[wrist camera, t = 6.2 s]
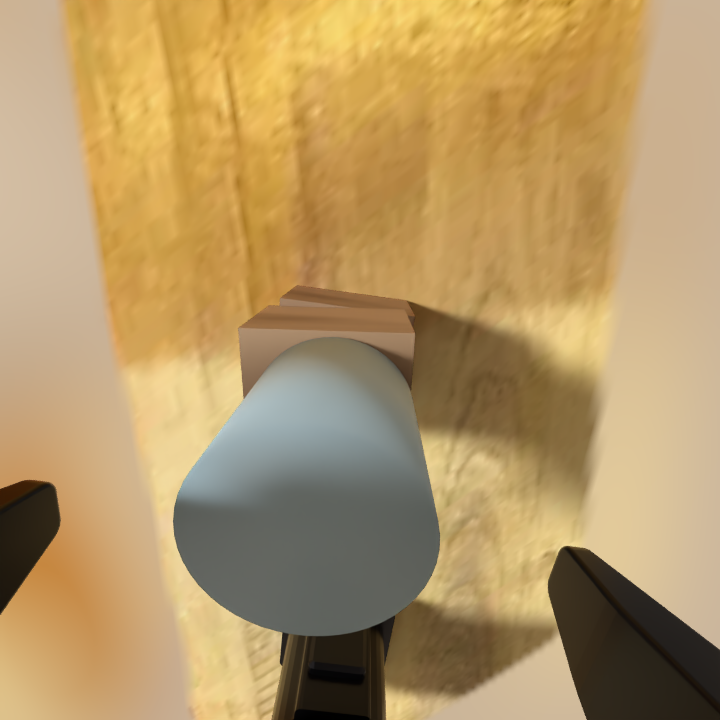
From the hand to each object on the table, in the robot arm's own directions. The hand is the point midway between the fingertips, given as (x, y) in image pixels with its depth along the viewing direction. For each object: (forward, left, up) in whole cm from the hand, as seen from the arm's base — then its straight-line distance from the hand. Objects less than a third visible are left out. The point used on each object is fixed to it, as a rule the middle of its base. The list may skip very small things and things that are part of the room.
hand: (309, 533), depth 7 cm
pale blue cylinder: (0, 0, -5) cm, 5 cm away
